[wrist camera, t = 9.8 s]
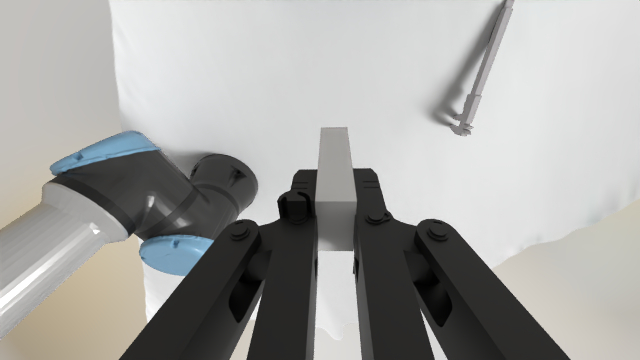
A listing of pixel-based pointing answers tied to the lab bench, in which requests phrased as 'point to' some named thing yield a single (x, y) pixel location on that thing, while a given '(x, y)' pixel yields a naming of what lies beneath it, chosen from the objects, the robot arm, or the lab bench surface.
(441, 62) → the lab bench surface
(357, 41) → the lab bench surface
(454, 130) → the caliper
